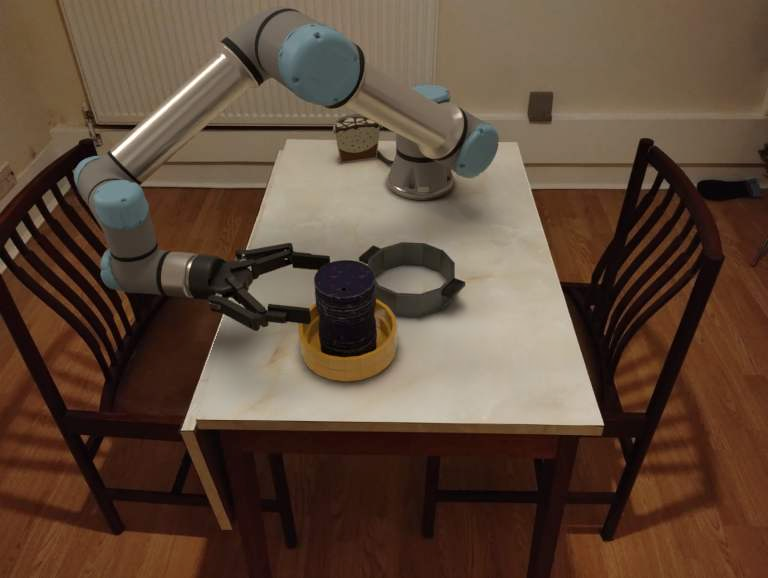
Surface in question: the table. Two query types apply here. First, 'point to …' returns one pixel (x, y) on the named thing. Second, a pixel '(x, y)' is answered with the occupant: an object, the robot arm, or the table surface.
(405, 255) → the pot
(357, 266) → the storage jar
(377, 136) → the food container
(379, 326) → the bowl
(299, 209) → the table surface
